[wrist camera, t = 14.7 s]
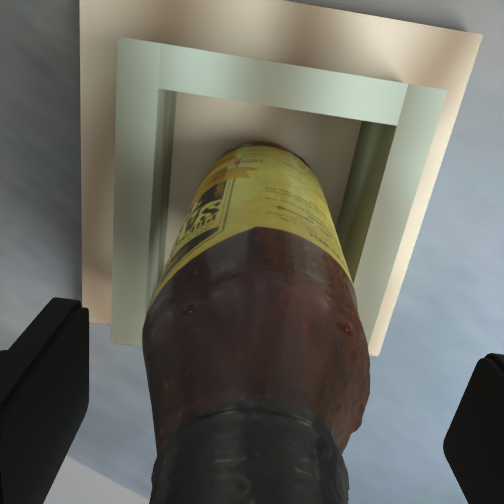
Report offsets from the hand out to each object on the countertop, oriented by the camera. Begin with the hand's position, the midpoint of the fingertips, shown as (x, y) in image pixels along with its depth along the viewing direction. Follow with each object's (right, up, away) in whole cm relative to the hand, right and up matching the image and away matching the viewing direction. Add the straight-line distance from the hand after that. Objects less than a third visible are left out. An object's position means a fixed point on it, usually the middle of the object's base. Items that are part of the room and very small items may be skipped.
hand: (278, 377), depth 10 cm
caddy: (0, +6, +13) cm, 15 cm away
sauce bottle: (0, +6, +13) cm, 14 cm away
